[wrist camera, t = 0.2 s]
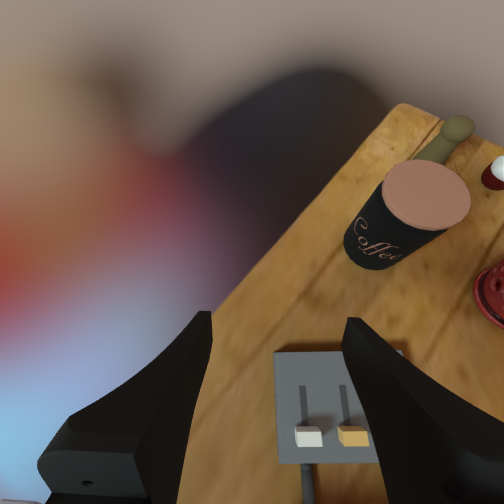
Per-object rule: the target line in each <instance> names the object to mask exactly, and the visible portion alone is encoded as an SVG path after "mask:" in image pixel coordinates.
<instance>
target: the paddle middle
mask: <svg viewBox="0 0 504 504" xmlns="http://www.w3.org/2000/svg"><path fill="white" fill-rule="evenodd" d="M337 429H338V437H339V441H340V442H341V443H342V444H343V445H344V447H345V446H369V440H368V434H367V431H366V430H365V429H363V428H362V427H361V426H337Z"/></svg>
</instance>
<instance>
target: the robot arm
mask: <svg viewBox="0 0 504 504" xmlns="http://www.w3.org/2000/svg"><path fill="white" fill-rule="evenodd" d="M212 342H213V337H212V320H211V311H199V312H198V313H197V314H196V315H195V316H194V318H193V319H192V320H191V321H190V323H189V324H188V325H187V326H186V327H185V328H184V330H183V331H182V332H181V333H180V334H179V335H178V336H177V337H176V338H175V340H174V341H173V342H172V343H171V344H170V345H169V346H168V347H167V348H166V349H165V350H164V351H163V352H161V353H160V354H159V355H158V356H157V357H156V358H155V359H154V360H153V361H152V362H150V363H149V364H148V365H147V366H146V367H144V368H143V369H142V370H141V371H139V372H138V373H137V374H136V375H134V376H133V377H132V378H130V379H129V380H128V381H126V382H125V383H124V384H122V385H120V386H119V387H117V388H116V389H114V390H113V391H111V392H110V393H108V394H107V395H105V396H104V397H102V398H100V399H99V400H97V401H95V402H94V403H92V404H90V405H88V406H87V407H85V408H83V409H81V410H80V411H78V412H76V413H74V414H73V415H71V416H69V418H68V419H67V420H66V421H65V423H64V424H63V425H62V427H61V428H60V429H59V431H58V432H57V433H56V435H55V436H54V438H53V439H52V441H51V442H50V443H49V445H48V446H47V448H46V449H45V451H44V452H43V453H42V455H41V456H40V458H39V459H38V462H37V468H38V471H39V473H40V475H41V477H42V478H43V480H44V481H45V483H46V484H47V486H48V487H49V488H50V490H51V492H52V493H51V495H50V497H49V498H48V500H47V502H46V503H45V504H176V502H177V497H178V491H179V485H180V480H181V474H182V469H183V463H184V458H185V453H186V448H187V443H188V438H189V433H190V428H191V423H192V418H193V414H194V409H195V405H196V402H197V398H198V395H199V392H200V388H201V385H202V382H203V379H204V375H205V372H206V369H207V365H208V362H209V358H210V353H211V347H212ZM341 349H342V353H343V357H344V361H345V365H346V367H347V370H348V373H349V375H350V378H351V380H352V383H353V385H354V388H355V390H356V393H357V395H358V398H359V400H360V403H361V405H362V408H363V410H364V413H365V416H366V419H367V422H368V425H369V429H370V432H371V435H372V439H373V442H374V446H375V449H376V453H377V457H378V460H379V464H380V467H381V471H382V475H383V479H384V483H385V487H386V491H387V495H388V499H389V503H390V504H504V423H503V422H502V421H500V420H498V419H496V418H494V417H493V416H491V415H489V414H487V413H486V412H484V411H482V410H480V409H479V408H477V407H475V406H473V405H472V404H470V403H468V402H467V401H465V400H464V399H462V398H460V397H459V396H457V395H456V394H454V393H453V392H451V391H449V390H448V389H446V388H445V387H443V386H442V385H440V384H439V383H437V382H436V381H435V380H433V379H432V378H430V377H429V376H428V375H426V374H425V373H424V372H422V371H421V370H419V369H418V368H417V367H416V366H414V365H413V364H412V363H411V362H409V361H408V360H407V359H406V358H404V357H403V356H402V355H401V354H400V353H398V352H397V351H396V350H395V349H394V348H393V347H391V346H390V345H389V344H388V343H387V342H386V341H385V340H384V339H382V338H381V337H380V336H379V335H378V334H377V333H376V332H375V331H374V330H373V329H372V328H371V327H370V326H368V325H367V324H366V323H365V322H364V321H363V320H362V319H361V318H356V317H348V319H347V323H346V327H345V331H344V335H343V339H342V344H341ZM0 504H41V503H38V502H34V501H24V500H23V501H22V500H7V499H2V500H0Z"/></svg>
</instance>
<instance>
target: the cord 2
mask: <svg viewBox="0 0 504 504" xmlns="http://www.w3.org/2000/svg"><path fill="white" fill-rule="evenodd" d="M301 476H302V489H303V502H304V504H315V493H314V482H313V471H312V465H311V463H301Z"/></svg>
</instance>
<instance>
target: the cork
mask: <svg viewBox="0 0 504 504" xmlns="http://www.w3.org/2000/svg"><path fill="white" fill-rule="evenodd" d="M474 129H475V124H474V122H473V121H472V120H471V119H470V118H469V117H466V116H462V115H457V116H453V117H451V118H449V119H448V120H447V121H446V122H445V123H444V124H443V125H442V127H441V130H440V133H439V134H438V135H437V136H436V137H435V138H434V139H433V140H432V141H430V142H429V143H428V144H427V145H426V146H425V147H424V148H423V149H422V150H421V151H420V152H419V153H418V154H417V155H416V156H415V157H414V158H413V160H417V159H418V160H427V161H432V162H435V163H438V164H441V165H443V164H444V163H445V162H446V160H447V159H448V158H449V156H450V155H451V154H452V152H453V151H454V150H455V148H456V147H457V146H458V144H459V143H460V142H463V141H465V140H466V139H468V138H469V137H470V136H471V135H472V133H473V131H474Z"/></svg>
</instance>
